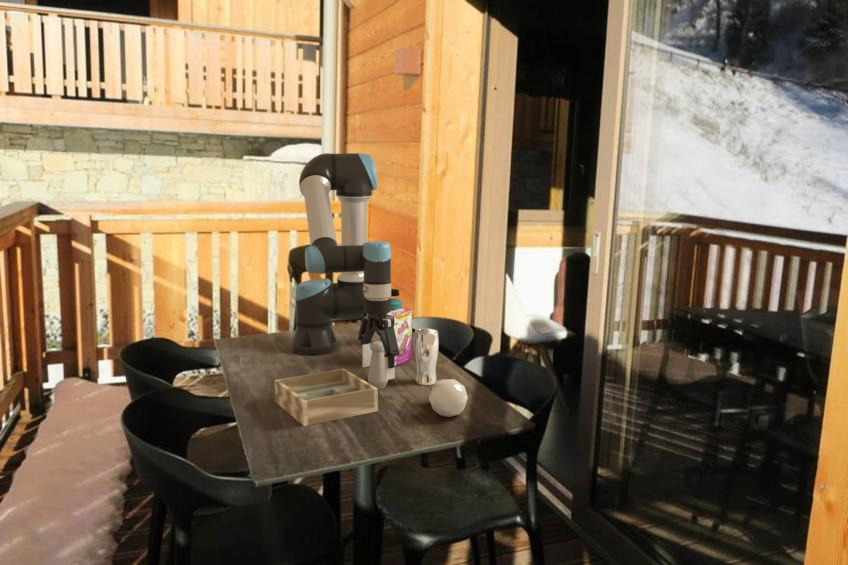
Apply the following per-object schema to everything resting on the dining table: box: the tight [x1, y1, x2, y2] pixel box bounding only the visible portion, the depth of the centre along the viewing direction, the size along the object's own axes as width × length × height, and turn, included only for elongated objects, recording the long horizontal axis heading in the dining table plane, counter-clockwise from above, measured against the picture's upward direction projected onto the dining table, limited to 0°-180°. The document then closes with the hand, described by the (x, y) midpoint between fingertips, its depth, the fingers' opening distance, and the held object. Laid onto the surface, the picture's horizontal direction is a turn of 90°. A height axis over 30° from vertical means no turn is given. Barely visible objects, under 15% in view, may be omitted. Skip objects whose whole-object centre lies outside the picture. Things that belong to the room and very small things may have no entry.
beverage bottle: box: [389, 288, 403, 312], centre depth 239 cm, size 6×7×20 cm
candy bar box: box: [383, 308, 413, 368], centre depth 221 cm, size 11×5×16 cm, turn 150°
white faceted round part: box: [428, 378, 469, 418], centre depth 180 cm, size 9×10×15 cm
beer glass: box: [413, 327, 440, 386], centre depth 203 cm, size 7×7×15 cm
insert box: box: [274, 368, 379, 427], centre depth 183 cm, size 20×20×6 cm
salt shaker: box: [367, 340, 389, 390], centre depth 198 cm, size 6×6×13 cm
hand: (378, 372), depth 199 cm, fingers open, 13 cm apart
